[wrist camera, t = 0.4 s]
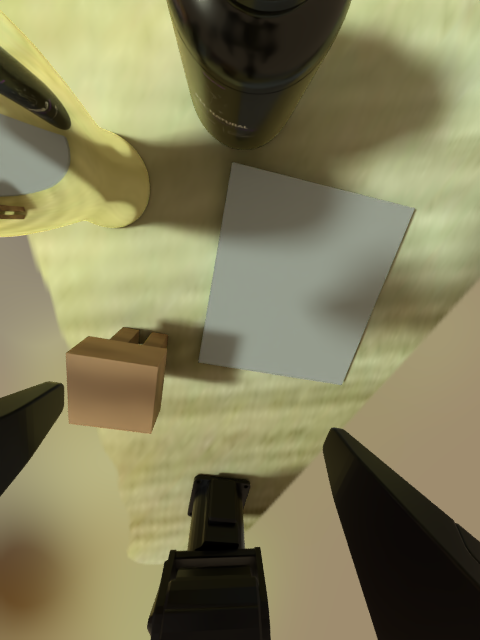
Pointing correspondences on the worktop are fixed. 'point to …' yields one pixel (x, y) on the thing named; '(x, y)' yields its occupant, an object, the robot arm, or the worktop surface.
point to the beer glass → (58, 151)
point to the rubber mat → (296, 275)
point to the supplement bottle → (252, 60)
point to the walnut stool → (117, 381)
